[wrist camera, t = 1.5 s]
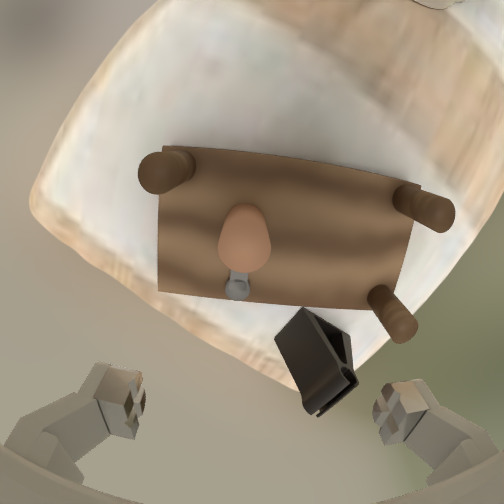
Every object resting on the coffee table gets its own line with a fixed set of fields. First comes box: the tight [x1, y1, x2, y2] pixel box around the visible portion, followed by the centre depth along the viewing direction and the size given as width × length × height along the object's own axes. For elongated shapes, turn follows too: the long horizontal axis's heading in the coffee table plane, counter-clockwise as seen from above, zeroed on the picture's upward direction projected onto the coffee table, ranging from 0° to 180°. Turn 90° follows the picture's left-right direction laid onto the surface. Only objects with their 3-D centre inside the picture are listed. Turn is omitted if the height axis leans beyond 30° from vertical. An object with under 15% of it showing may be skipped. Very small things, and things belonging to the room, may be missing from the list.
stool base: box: [138, 146, 455, 344], centre depth 28 cm, size 16×28×10 cm, turn 83°
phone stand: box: [274, 307, 359, 417], centre depth 32 cm, size 9×6×12 cm, turn 55°
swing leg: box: [218, 203, 271, 301], centre depth 26 cm, size 10×4×8 cm, turn 173°
